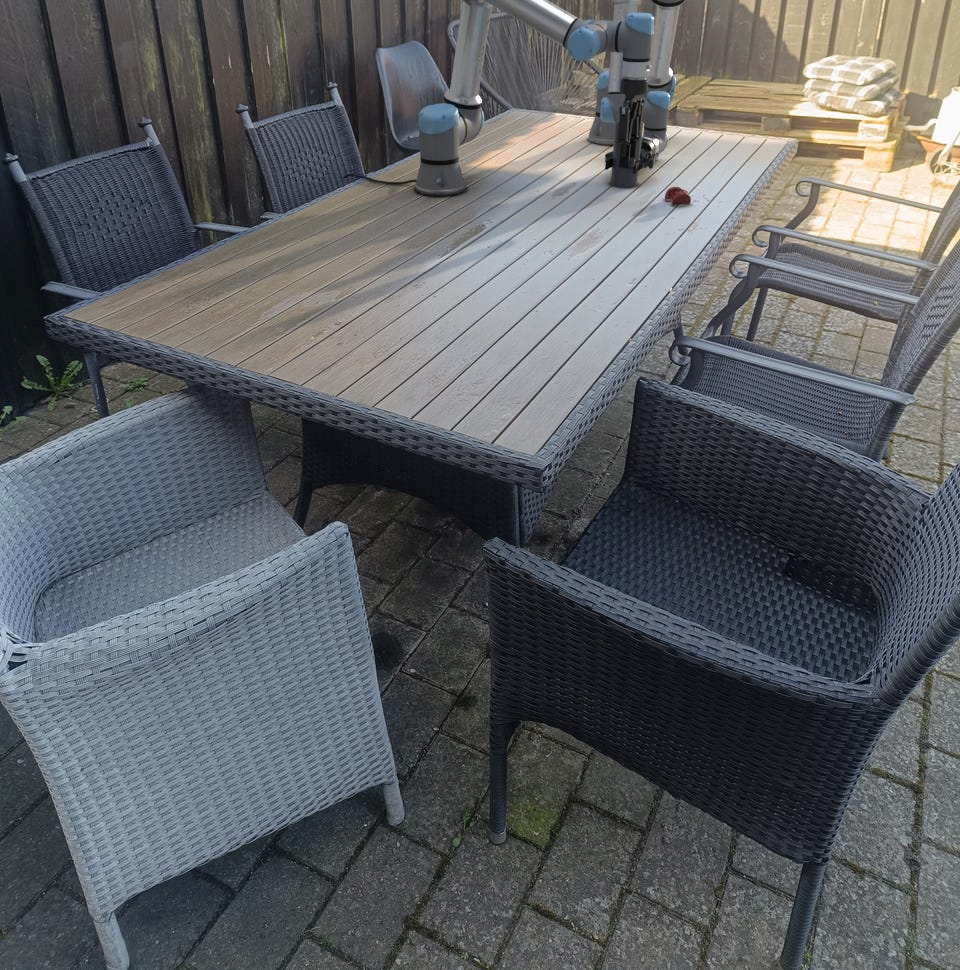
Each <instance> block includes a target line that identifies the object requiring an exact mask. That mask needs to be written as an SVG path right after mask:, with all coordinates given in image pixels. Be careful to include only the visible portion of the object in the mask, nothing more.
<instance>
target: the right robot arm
mask: <svg viewBox="0 0 960 970" xmlns="http://www.w3.org/2000/svg"><path fill="white" fill-rule="evenodd" d="M610 2H611V3H612V5H613V13H612V14H613V15H612V21H625V19H626V16H627V14H629V13H639V5H640V4H641V3H642V2H643V0H610ZM650 2H651V3H652V9H651V14H652V15H653V17H654V28H653V32H654V35H653V41H652V49H651V59H650V65H651V69H649V76H648V77H646V78H647V79H648V80H649V81H648V91H647V93H646V94H644V95H641V99H645V103H644V108H643V117H642V121H643V132H642V141H641V151H640V160H639V161H638V162H636V163H635V166H634V167H633V174H636V173H637V172H638V173H639V171H641V170H644V169H647V168H648V169H650V170H651V169H653V168H654V167H655V165H656V163H658V162H659V157H660V154H661V153H662V152H664V151H665V149H666V148H667V146H668V145H669V141H670V140H669V139H670V138H669V135H668V131H667V130H668V121H669V113H670V106H671V104H672V102H673V99H674V95H675V89H676V86H677V85H676V83H677V79H676V75H675V74H673V70H672V68H671V67H670V66H671V61H672V54H673V50H674V49H673V48H674V43H675V37H676V33H677V26H678V20H679V16H680V15H679V13H680V9H681V6H682V5H683V4H684V3H685V2H686V0H650ZM609 55H610V56H609V69H608V70H605V71H603V72H601V73H600V74H599V75H598V79H597V86H596V101H595V112H594V113H595V115H594V119H593V122H592V124H591V127H590V129H589V132H588V139H587V140H588V141H589V142H591V143H593V144H597V145H602V146H614V136H615V125H616V122H617V120H618V119H619V118H620V111H619V108H620V106H623V104H624V101H625V94H622V93H621V92H620V85H621V79H622V78H623V77H622V76H621V71H622V60H623V53H622V52H620V53H618V52H610V54H609ZM612 159H613V150H612V151H609V152H607V153H605V155H604V163H605V165H604V170H605V171H608V170H609V169H612Z"/></svg>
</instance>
